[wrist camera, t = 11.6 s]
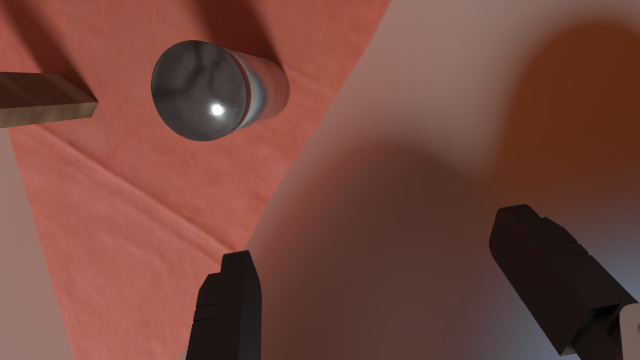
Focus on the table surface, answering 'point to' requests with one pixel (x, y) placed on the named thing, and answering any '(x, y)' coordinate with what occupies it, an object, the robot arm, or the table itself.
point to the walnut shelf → (41, 99)
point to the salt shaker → (215, 90)
